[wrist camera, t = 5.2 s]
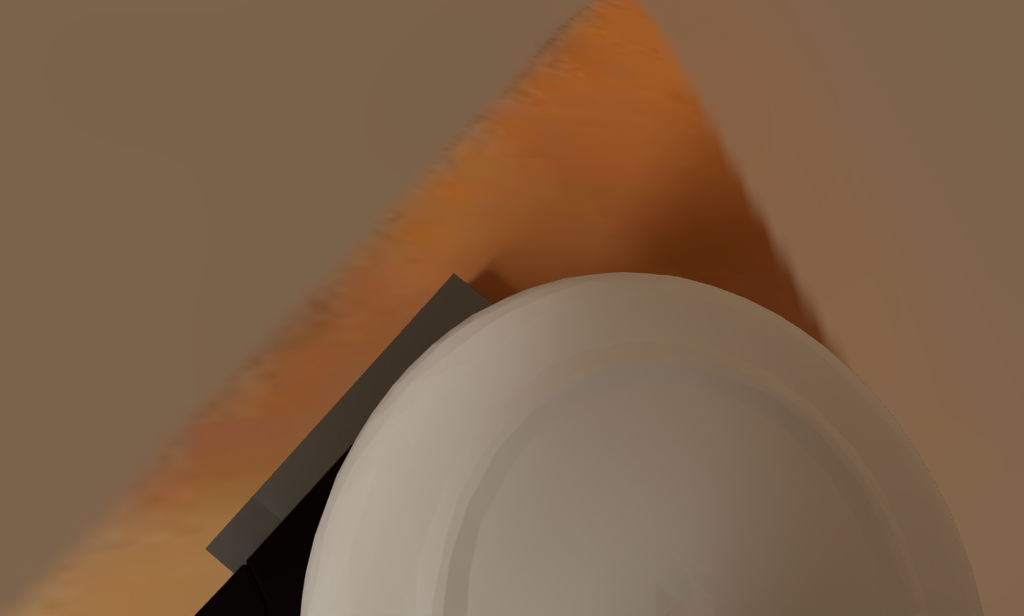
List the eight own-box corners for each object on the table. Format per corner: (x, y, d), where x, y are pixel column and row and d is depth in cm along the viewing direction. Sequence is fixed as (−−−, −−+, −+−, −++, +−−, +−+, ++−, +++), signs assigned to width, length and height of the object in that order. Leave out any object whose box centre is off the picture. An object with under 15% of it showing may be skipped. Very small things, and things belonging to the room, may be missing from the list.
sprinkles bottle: (464, 403, 16) (606, 140, 4) (574, 497, 16) (1112, 533, 4) (363, 522, 15) (55, 718, 2) (481, 630, 14) (879, 1564, 2)
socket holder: (499, 759, 14) (515, 814, 12) (239, 537, 15) (205, 548, 12) (666, 469, 17) (704, 468, 15) (449, 300, 18) (453, 273, 16)
